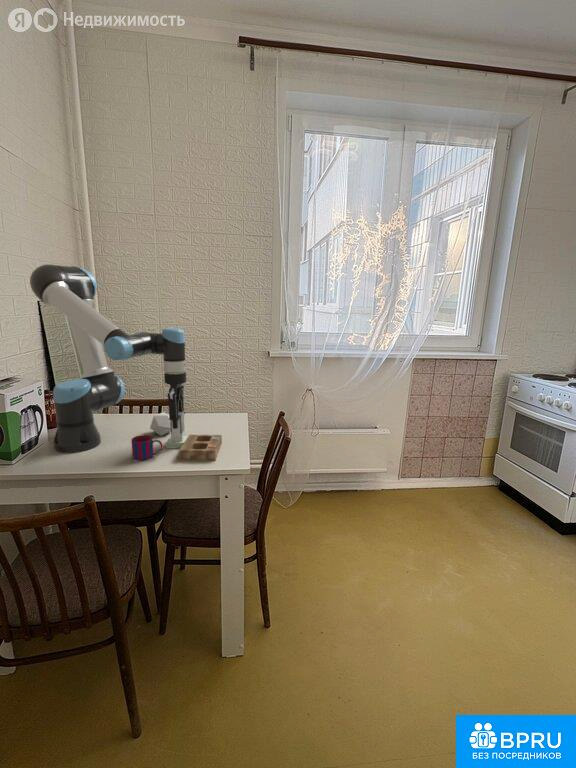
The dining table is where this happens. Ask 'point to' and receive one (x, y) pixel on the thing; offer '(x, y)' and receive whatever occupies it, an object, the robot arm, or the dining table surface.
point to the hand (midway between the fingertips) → (177, 433)
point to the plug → (182, 432)
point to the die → (161, 424)
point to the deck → (175, 443)
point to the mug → (143, 447)
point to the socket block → (201, 447)
